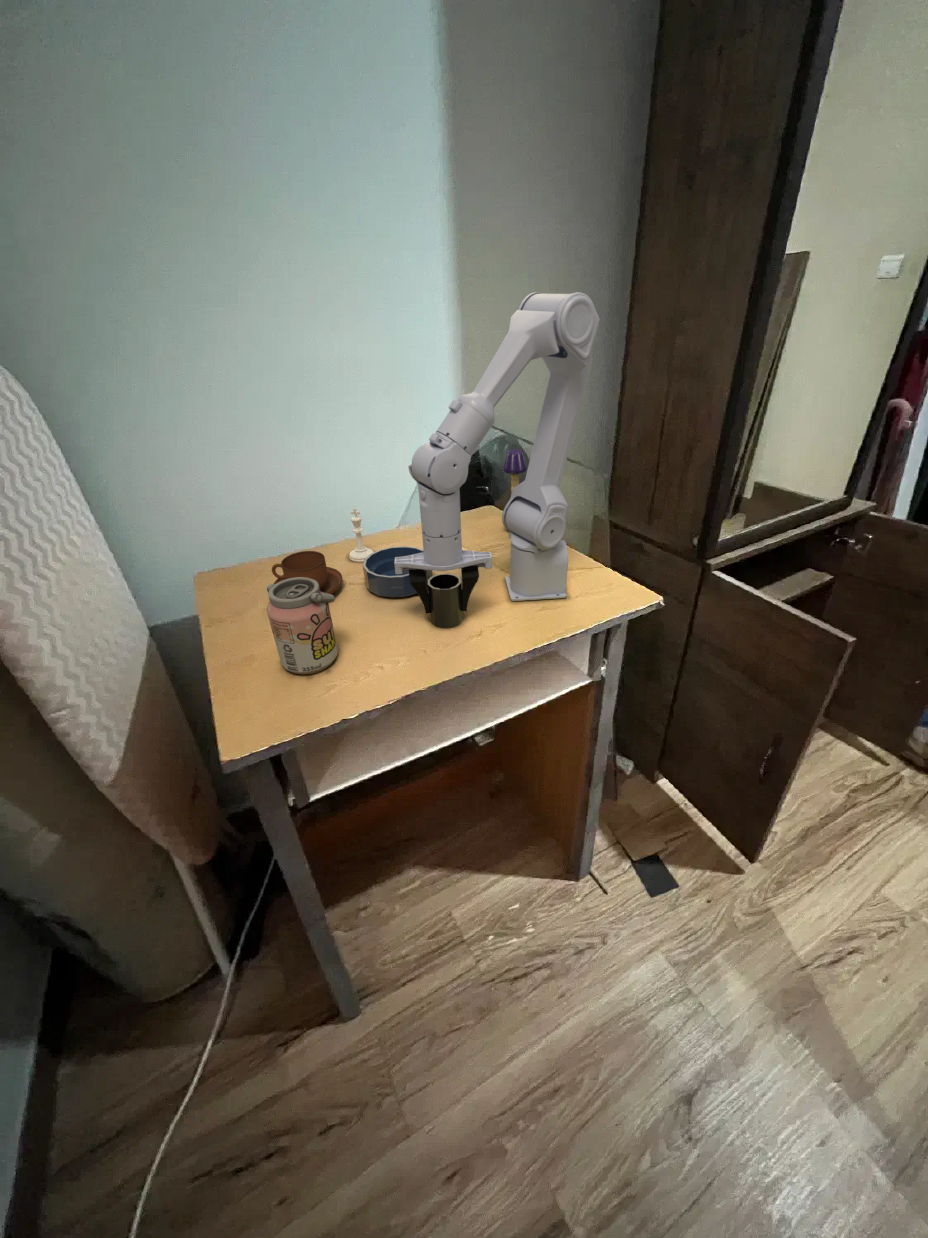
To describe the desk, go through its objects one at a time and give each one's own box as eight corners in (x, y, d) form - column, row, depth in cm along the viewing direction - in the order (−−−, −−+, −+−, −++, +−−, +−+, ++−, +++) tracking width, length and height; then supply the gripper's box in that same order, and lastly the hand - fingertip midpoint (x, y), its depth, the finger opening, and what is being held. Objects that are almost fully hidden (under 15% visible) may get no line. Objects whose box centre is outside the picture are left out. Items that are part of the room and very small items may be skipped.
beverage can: (308, 634, 82) (292, 566, 76) (354, 645, 80) (341, 575, 73) (269, 669, 75) (247, 597, 69) (318, 683, 72) (300, 609, 66)
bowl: (432, 565, 101) (430, 544, 98) (433, 597, 91) (431, 574, 88) (369, 569, 100) (366, 548, 98) (363, 602, 90) (359, 579, 88)
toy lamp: (502, 532, 113) (502, 453, 104) (504, 523, 117) (505, 447, 107) (524, 533, 112) (527, 454, 103) (526, 524, 116) (528, 447, 107)
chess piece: (369, 562, 103) (362, 514, 97) (345, 560, 104) (337, 512, 98) (377, 551, 107) (371, 504, 101) (354, 550, 108) (347, 503, 102)
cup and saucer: (271, 613, 88) (263, 581, 85) (277, 579, 98) (270, 549, 95) (344, 603, 90) (338, 571, 87) (343, 571, 100) (338, 541, 96)
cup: (461, 609, 87) (460, 572, 83) (463, 627, 83) (462, 588, 79) (430, 611, 87) (427, 574, 83) (430, 629, 83) (427, 590, 79)
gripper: (488, 516, 80) (489, 593, 87) (392, 521, 79) (401, 599, 87) (493, 535, 74) (493, 616, 82) (390, 541, 74) (399, 622, 81)
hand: (446, 609), depth 84 cm, fingers closed on cup, 5 cm apart
